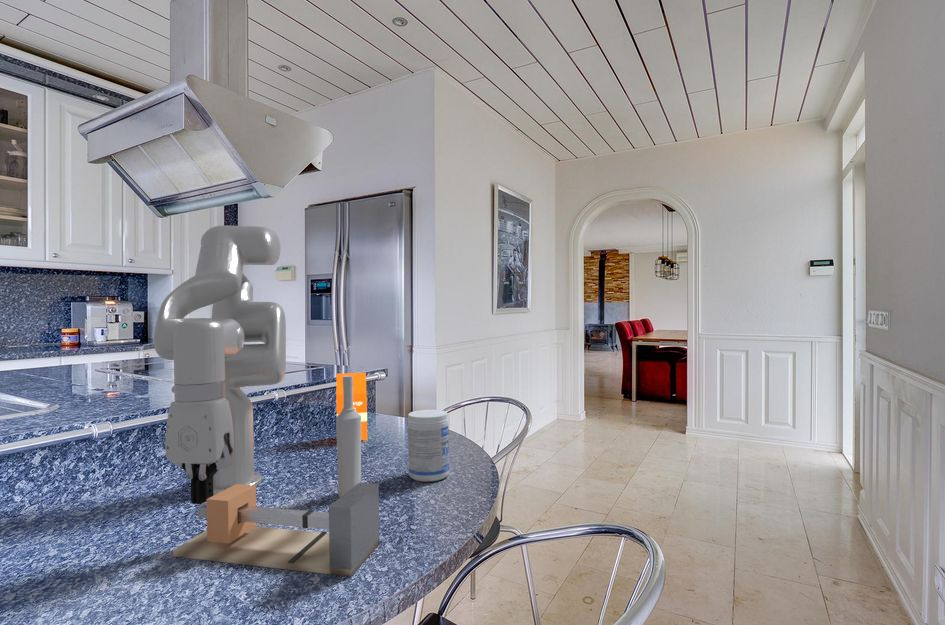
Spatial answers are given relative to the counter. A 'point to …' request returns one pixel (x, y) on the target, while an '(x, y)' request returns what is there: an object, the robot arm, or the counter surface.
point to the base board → (269, 550)
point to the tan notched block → (229, 513)
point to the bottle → (348, 441)
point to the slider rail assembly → (330, 523)
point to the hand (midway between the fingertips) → (202, 500)
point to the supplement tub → (428, 445)
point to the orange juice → (354, 398)
